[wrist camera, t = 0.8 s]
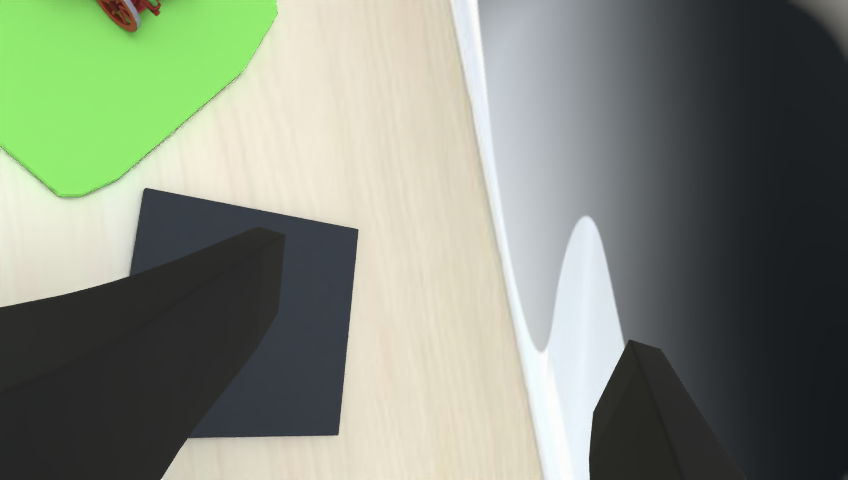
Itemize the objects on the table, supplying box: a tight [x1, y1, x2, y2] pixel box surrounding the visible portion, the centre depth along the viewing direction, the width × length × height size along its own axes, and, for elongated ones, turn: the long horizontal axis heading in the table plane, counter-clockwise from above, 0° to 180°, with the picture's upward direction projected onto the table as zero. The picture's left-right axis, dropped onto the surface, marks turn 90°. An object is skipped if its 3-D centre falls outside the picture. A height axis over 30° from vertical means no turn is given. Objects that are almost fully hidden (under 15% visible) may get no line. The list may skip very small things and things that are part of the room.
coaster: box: [130, 188, 358, 438], centre depth 27 cm, size 10×10×1 cm
